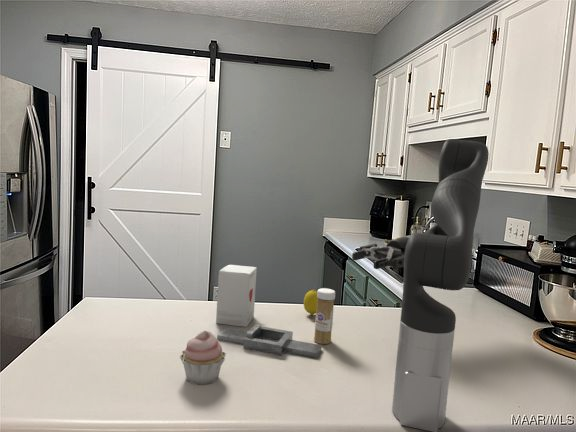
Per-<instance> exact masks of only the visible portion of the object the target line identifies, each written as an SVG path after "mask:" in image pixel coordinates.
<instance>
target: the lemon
mask: <svg viewBox="0 0 576 432" xmlns="http://www.w3.org/2000/svg"><path fill="white" fill-rule="evenodd" d="M317 291H318V290H317ZM317 291H316V289H312V290H309V291H308V292H306V293H305V295H304V298H303V308H304V310H305V311H306V313H308V314H310V315H311V316H314V314H315V315H316V311H317V300H318V299H317Z"/></svg>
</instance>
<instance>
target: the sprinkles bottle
mask: <svg viewBox="0 0 576 432" xmlns="http://www.w3.org/2000/svg"><path fill="white" fill-rule="evenodd" d="M335 298H336V291H335V290H334V289H331V288H327V287H322V288H319V289H318V290H317V299H318V300H317V311H316V313H315V321H314V322H315V323H314V336H313V341H314V342H315V343H317V344H319V345H327V344H331V342H332V330H333V322H334V321H333V320H334V306H335V305H334V304H335Z"/></svg>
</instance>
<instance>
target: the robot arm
mask: <svg viewBox="0 0 576 432" xmlns="http://www.w3.org/2000/svg"><path fill="white" fill-rule="evenodd" d="M489 155H490V154H489V148H488V146H487V145H486V144H485V143H483V142H481V141H474V140H465V139H456V138H448V139H447V140H446V141H444V143H443V145H442V148H441V150H440V153H439V158H438V159H439V161H438V185H437V186H436V188H435V191H434V194H433V197H432V199H431V200H432V201H431V204H430V211H431V214H432V218H433V219H434V220H435V222H436V224H434V225H433V226H432V227H430V228H429V229H428V230H426V231H424V232H414V233H413V234H410V235H405V236H400V237H397V238H396V237H395V238H392V239H391V240H389V241H388V242H387V244H386V245H381V246H378V244H377V243H372V244H367V245H363V246H359V250H357V251H354V252H352V254H351V255H352V256H351V259H352V260H353V261H359V260H362V259H370V260H372V261H373V269H375V270H379V269H382V268H391V267H392V269H394V270H397V269H401V268H403V284H402V286H403V288H402V296H401V297H402V299H401V311H400V323H399V331H398V343H397V350H396V351H397V352H396V363H395V374H394V382H393V384H394V385H393V395H392V397H393V398H392V406H391V407H392V408H391V411H392V414H393V415H394V417H396V419H397V420H399V425H401V426H406V427H408V428H409V427H410V428H415V429H420V430H424V431H427V432H438V431H439V429H440V428H442V427H443V426H444V425H445V421H446V414H447V413H446V411H447V406H448V395H449V394H448V393H449V383H450V376H451V367H452V366H451V365H452V356H453V347H454V341H455V340H454V339H455V330H456V321H457V317H456V313H455V312H454V310H453V309H451V308H450V307H448V306H447V305H445V304H443V303H441V302H440V301H438V300H436V299H435V298H434V297H432V296H431V295H430V294H429V293H428V292H427V291H426V289H424V287H428V288H433V289H438V290H439V289H440V290H445V291H446V290H447V291H460V290H462V289H464V288H465V286H466V285H467V283H468V281H469V278H470V276H471V270H472V262H473V261H472V260H473V248H474V247H473V246H474V245H473V244H474V231H475V226H476V222H477V217H478V213H479V209H480V204H481V195H482V193H481V191H482V186H483V185H482V184H483V180H484V176H485V174H486V170H487V167H488V164H489V163H488V162H489ZM374 255H375V256H374Z"/></svg>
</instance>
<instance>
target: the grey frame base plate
mask: <svg viewBox="0 0 576 432" xmlns="http://www.w3.org/2000/svg"><path fill="white" fill-rule="evenodd" d="M293 333H294V331H291V330H285V329H280V328H279V329H278V328H272V327H267V326H263V325H262V324H261V323H260V324H259V323H255V324H254V325H253V326H252V327H251V328H250V329H248V331H243V330H238V329H233V328H228V327H226V328H225V327H224V329H222V330H221V331H220V332H219V333H218V334H216V335H217V336H216V339H217V340H218V341H223V342H229V343H235V344H240V345H243V346H242V347H243V349H244V350H248V349H249V351H253V350H254V352H258V351H259V353H264V354H270V355H274V356H281V357H282V356H283V354H284V353H288V354H293V355H298V356H304V357H309V358H314V359H317V358H318V357H319V356H320V355H319V354H320V353H321V351H322V344H319V343H317V344H316V343H313V342H307V341H306V342H305V341H301V340H295V339H293ZM261 338H262V339H261ZM267 339H268V340H267Z"/></svg>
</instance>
